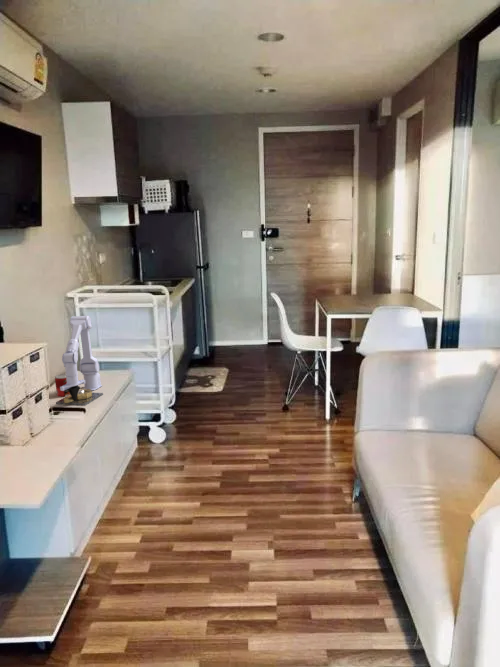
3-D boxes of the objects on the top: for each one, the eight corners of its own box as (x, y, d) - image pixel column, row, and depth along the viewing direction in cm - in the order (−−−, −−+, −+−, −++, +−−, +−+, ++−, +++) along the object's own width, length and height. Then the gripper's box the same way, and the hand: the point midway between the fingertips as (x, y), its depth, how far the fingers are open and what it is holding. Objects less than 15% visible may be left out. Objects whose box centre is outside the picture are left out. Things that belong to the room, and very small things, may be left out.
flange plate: (75, 393, 281) (74, 385, 280) (103, 394, 277) (102, 386, 276) (56, 403, 264) (55, 395, 263) (85, 405, 260) (84, 397, 259)
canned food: (67, 397, 275) (65, 377, 273) (53, 396, 277) (51, 377, 274) (74, 393, 282) (72, 373, 280) (61, 392, 284) (59, 373, 282)
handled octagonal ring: (79, 392, 278) (79, 388, 278) (95, 394, 274) (95, 389, 274) (57, 402, 263) (57, 397, 262) (74, 403, 259) (74, 399, 258)
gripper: (77, 370, 268) (80, 395, 271) (55, 377, 256) (57, 403, 259) (87, 372, 265) (89, 397, 267) (64, 379, 253) (67, 405, 255)
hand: (74, 400), depth 263 cm, fingers closed, pressing on handled octagonal ring
